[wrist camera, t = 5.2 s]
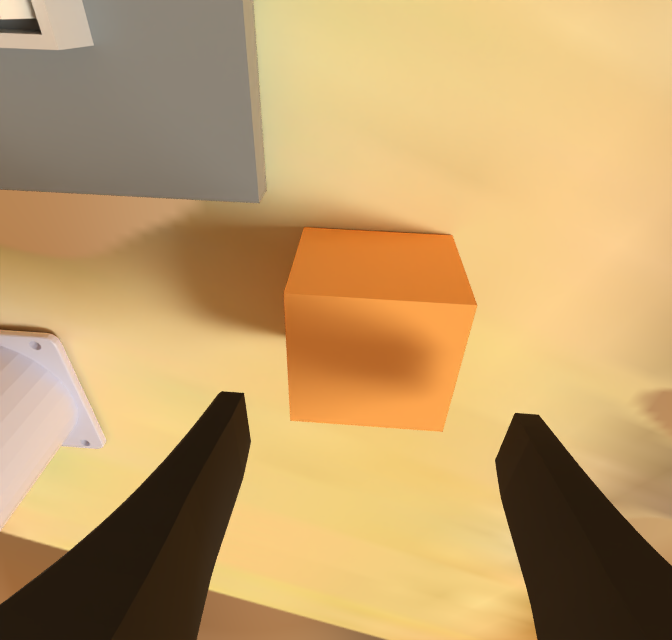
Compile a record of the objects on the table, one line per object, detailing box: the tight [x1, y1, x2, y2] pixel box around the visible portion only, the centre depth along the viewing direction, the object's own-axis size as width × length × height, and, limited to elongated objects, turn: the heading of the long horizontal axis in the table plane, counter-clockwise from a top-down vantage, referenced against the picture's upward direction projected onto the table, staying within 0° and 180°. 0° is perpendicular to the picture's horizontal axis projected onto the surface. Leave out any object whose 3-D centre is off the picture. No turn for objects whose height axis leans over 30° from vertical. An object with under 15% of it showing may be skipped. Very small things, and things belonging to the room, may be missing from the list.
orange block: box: [284, 227, 477, 432], centre depth 15 cm, size 5×5×4 cm
